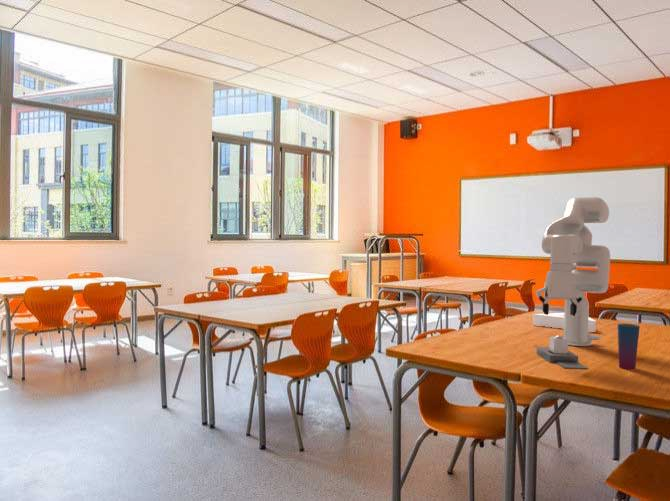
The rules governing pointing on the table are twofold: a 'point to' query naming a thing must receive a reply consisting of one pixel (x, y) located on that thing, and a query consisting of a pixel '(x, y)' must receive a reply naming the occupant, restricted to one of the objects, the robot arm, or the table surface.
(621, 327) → the cup
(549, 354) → the dark grey flat block
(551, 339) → the white upright block
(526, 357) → the table surface
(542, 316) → the flat white box
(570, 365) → the mat
